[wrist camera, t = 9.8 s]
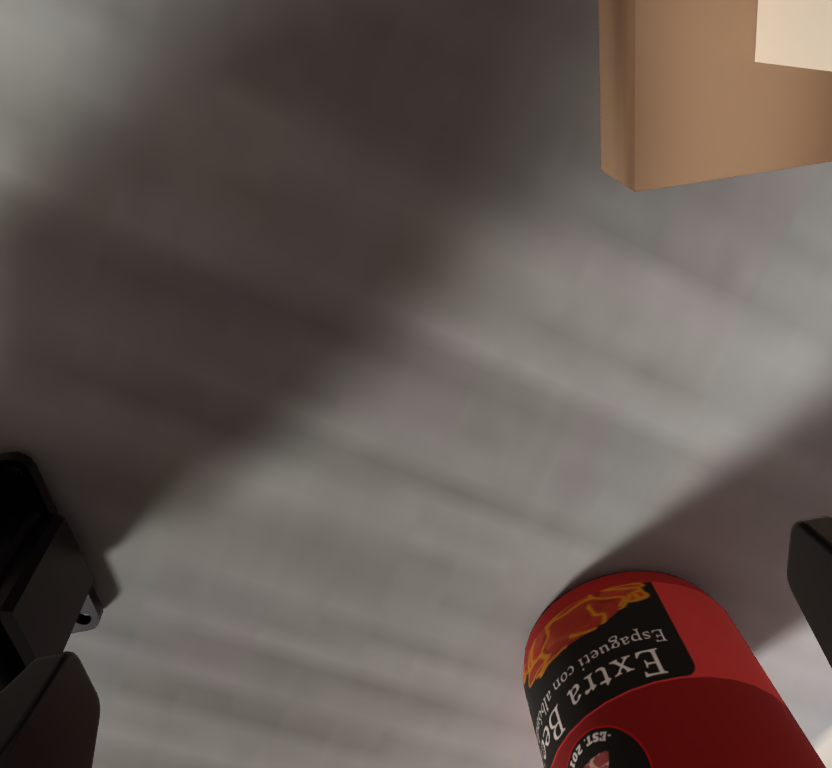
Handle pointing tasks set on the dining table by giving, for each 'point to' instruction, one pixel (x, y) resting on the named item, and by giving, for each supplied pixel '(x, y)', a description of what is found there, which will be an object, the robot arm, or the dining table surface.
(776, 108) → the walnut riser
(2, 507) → the robot arm
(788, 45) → the cream block
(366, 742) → the dining table surface
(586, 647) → the canned food
